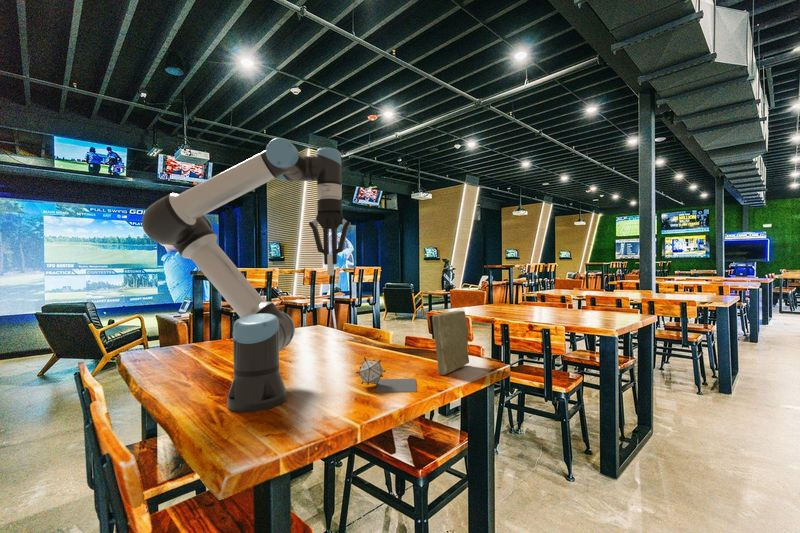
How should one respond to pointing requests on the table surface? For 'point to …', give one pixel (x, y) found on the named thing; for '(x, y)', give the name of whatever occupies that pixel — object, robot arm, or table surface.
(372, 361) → the game die
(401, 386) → the mat
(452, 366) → the decorative tile
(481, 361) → the table surface
